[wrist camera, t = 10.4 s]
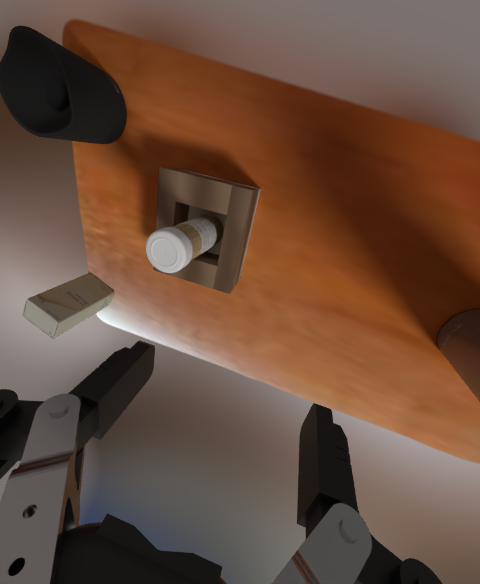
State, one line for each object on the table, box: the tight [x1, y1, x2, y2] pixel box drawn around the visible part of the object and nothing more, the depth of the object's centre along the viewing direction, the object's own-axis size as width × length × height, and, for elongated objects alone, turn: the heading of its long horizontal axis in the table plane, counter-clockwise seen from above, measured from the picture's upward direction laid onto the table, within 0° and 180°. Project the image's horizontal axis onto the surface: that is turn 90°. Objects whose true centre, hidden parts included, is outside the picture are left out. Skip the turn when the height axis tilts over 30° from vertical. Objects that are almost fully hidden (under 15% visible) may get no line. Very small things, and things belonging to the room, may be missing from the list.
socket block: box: [154, 167, 261, 294], centre depth 35 cm, size 12×14×6 cm
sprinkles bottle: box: [146, 215, 224, 273], centre depth 31 cm, size 5×5×13 cm
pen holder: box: [0, 26, 126, 144], centre depth 31 cm, size 9×9×10 cm
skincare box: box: [23, 273, 114, 339], centre depth 44 cm, size 6×4×12 cm
